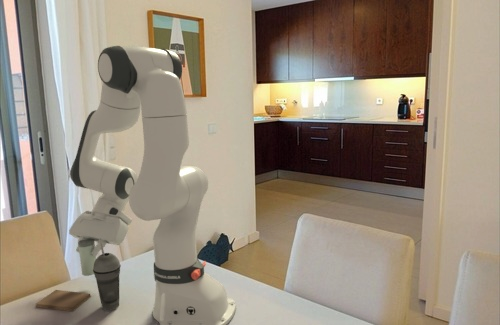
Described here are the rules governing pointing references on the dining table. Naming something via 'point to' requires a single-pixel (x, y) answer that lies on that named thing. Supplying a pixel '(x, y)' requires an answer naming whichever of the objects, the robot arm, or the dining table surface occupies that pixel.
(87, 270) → the sage tube
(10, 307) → the dining table surface
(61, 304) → the walnut board
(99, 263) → the beverage cup
